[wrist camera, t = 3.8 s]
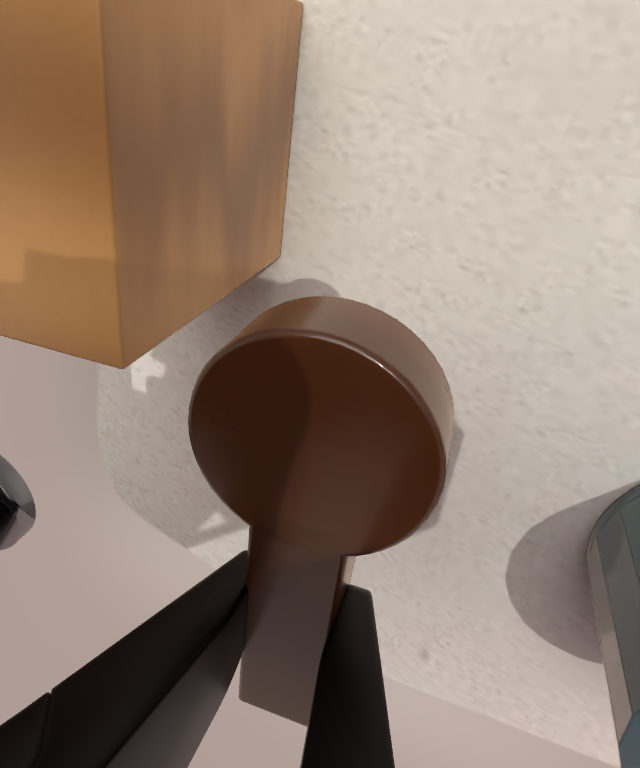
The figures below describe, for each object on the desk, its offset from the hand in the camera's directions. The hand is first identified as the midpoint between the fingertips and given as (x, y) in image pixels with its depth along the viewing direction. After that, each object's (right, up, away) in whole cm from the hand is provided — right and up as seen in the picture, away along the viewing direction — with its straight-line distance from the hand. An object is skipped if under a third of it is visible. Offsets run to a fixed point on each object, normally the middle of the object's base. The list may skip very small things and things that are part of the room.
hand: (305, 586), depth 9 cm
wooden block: (-3, +12, +10) cm, 16 cm away
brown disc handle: (0, +1, 0) cm, 1 cm away
